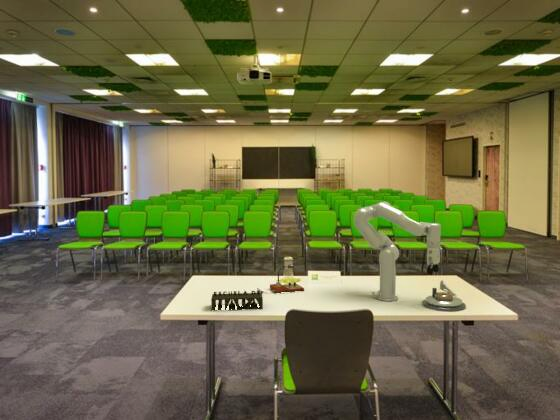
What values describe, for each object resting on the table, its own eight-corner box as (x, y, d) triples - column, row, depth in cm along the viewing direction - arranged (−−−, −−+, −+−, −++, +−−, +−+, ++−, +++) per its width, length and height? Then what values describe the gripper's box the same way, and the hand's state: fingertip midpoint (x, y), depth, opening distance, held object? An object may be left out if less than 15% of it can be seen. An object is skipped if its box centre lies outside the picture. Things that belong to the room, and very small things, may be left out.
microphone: (254, 290, 321) (254, 264, 320) (297, 287, 331) (296, 261, 329) (260, 295, 308) (260, 268, 307) (304, 291, 318) (304, 265, 317)
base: (425, 310, 271) (426, 301, 271) (419, 299, 295) (419, 290, 295) (470, 312, 268) (470, 302, 268) (460, 300, 292) (460, 291, 291)
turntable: (428, 307, 273) (429, 295, 272) (423, 297, 293) (423, 286, 292) (465, 308, 270) (466, 296, 270) (457, 298, 290) (457, 287, 290)
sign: (211, 311, 274) (211, 294, 273) (212, 306, 285) (212, 289, 284) (262, 309, 277) (262, 292, 276) (261, 304, 287) (261, 288, 287)
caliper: (439, 289, 322) (439, 279, 322) (441, 289, 322) (441, 279, 322) (455, 296, 302) (455, 287, 301) (456, 296, 302) (456, 287, 302)
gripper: (434, 246, 273) (433, 276, 275) (444, 243, 287) (443, 271, 289) (421, 245, 278) (420, 274, 279) (431, 241, 292) (431, 269, 293)
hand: (432, 273), depth 284 cm, fingers open, 9 cm apart
